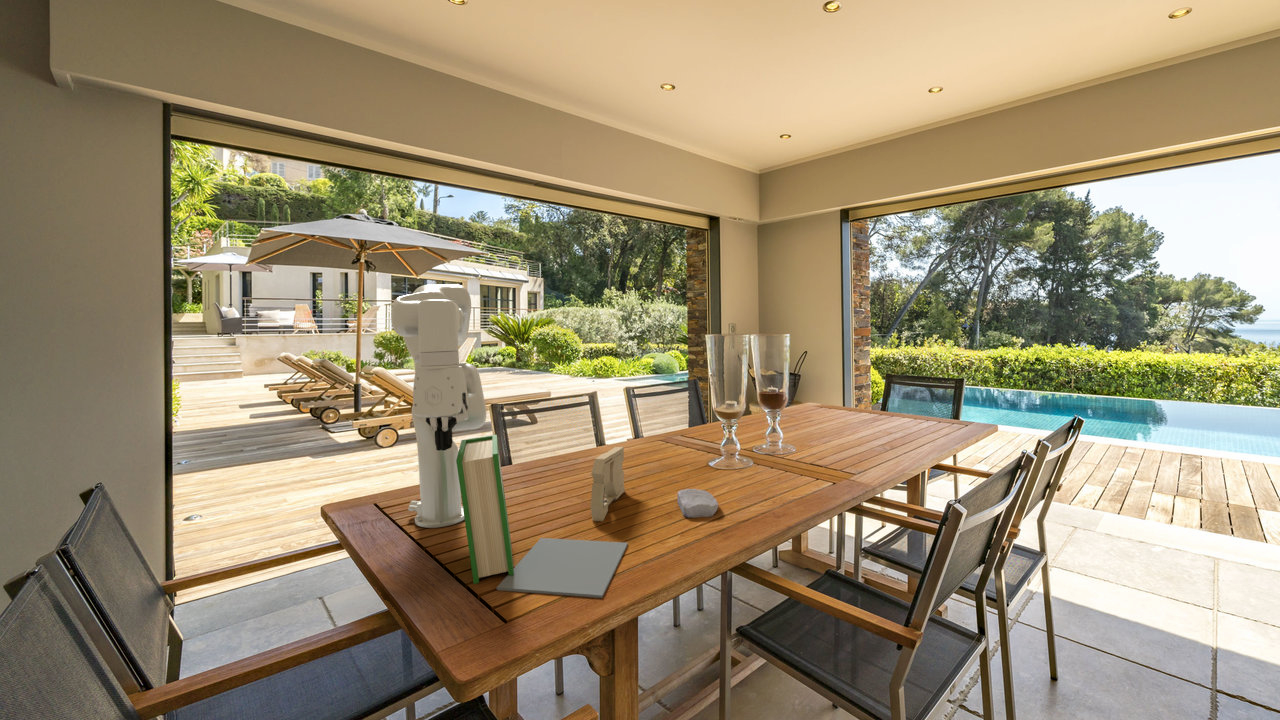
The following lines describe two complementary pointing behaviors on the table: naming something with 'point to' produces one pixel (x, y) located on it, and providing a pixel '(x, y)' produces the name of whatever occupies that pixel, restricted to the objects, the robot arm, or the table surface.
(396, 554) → the table surface
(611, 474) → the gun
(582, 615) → the table surface
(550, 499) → the table surface
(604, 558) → the mat
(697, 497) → the stone block
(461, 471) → the hardback book
